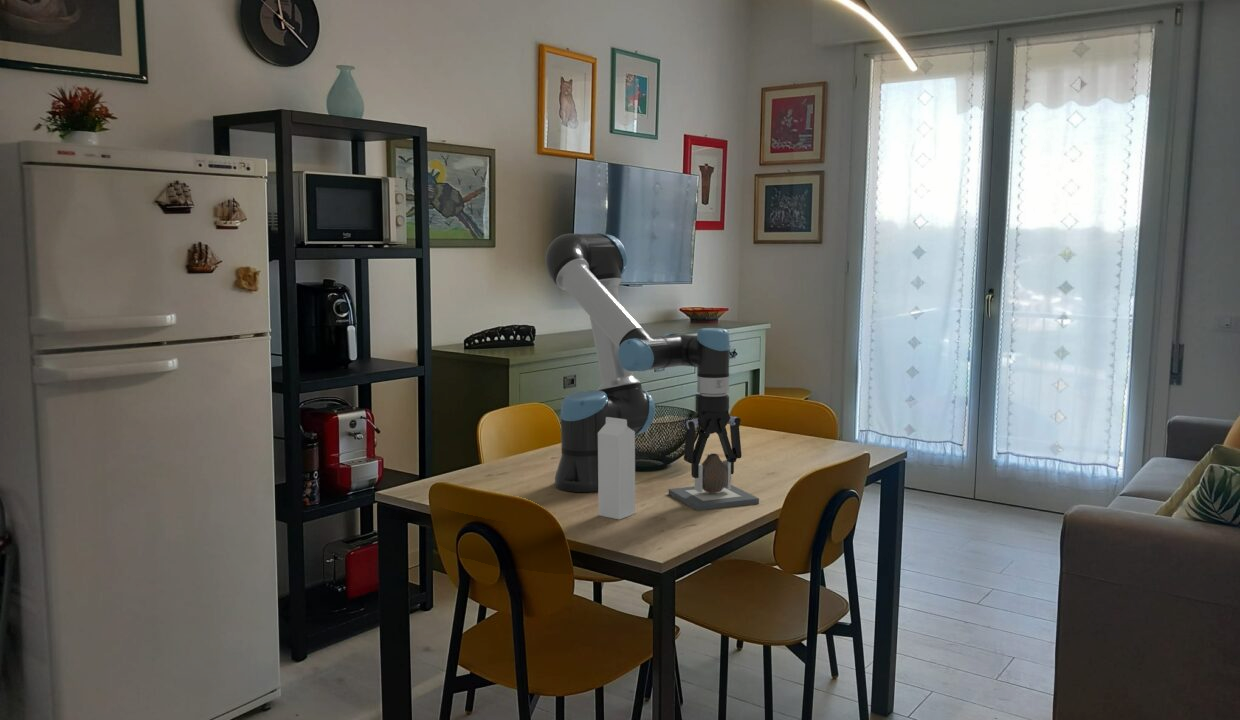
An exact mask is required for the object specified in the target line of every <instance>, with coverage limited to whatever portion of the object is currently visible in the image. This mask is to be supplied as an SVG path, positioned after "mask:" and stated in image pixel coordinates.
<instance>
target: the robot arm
mask: <svg viewBox="0 0 1240 720" xmlns="http://www.w3.org/2000/svg"><path fill="white" fill-rule="evenodd" d="M544 260H545V262H544V264H545V268H546V271H547V274H548V275H549V277H550V278H551V280H552V281H553V283H554V284H555V285H556V287H557V288H559V289H560V290H562V291H567V293H568V294H570V295H571V296H572V298H573V299H574V300H575V301H576V303H578V305H579V306H580V307H581V308H582V309H583V311H585V312H586V313H587V315H588V316H589V320H590V326H591V329H592V331H591V332H592V335H593V341H594V347H595V352H596V353H595V354H596V357H597V362H598V364H597V365H598V368H599V374H600V381H601V383H600V385H599V386H598V388H597V390H595V389H593V390H585V391H584V390H581V391H577V392H572V393H570V394H567V395H566V396H565V397H564V398H563V399H562V400H561V405H560V412H559V413H560V414H559V417H560V430H561V432H560V434H561V435H560V436H561V437H560V438H561V441H560V443H561V445H560V446H561V455H560V458H559V459H560V460H559V463H558V466H557V470H556V471H555V476H554V486H555V488H556V489H559V490H560V491H565V492H576V493H593V492H598V432H599V431H600V430H601V428H602V427H603V426H604V425H605V424H606V417H612V418H619V419H626V420H627V427H629V428H630V429H632V430H633V431H635V436H637V435H640V434H643V433H645V432H646V431H648V430H649V429H650V427H651V425H652V424H653V422H654V420H655V419H654V418H655V417H656V407H655V401H654V399H653V397H652V395H650V393H649V392H648V391H647V390H644V389H643V387H642V382H641V381H640V380H639V379H638V378H636V377H635V376H634V372H645V371H651V370H658V369H667V368H674V367H693V368H696V370H697V371H696V375H697V376H696V381H697V383H696V384H697V385H696V392H697V393H698V394H697V396H696V410H697V412H696V413H697V414H696V416H695V418H693V419H690V420H689V419H686V420H685V421H684V424H685V429H686V432H685V441H684V443H685V444H684V453H683V460H684V461H685V462H686V463H689V464H690V465H691V474H690V475H691V477H692V478H694V486H695V490H696V491H698V492H702V479H703V465H701V464H702V463H700V462H701V460H702V457H703V453H704V450H705V448H706V445H707V441H708V439H709V438H710V435H711V434H714V433H715V434H717V436H718V438H719V441H720V444H721V448H722V451H723V454H724V457H725V459H723V460H722V462H723V464H724V465H725V467H726V470H727V483H726V485H725V487H724V488H726V489H731V485H732V476H731V475H733V474H734V473H735V472H734V471H735V463H736V462H737V460H738V459H741V458H742V447H741V433H740V427H741V426H740V425H741V421H742V420H741V418H740V417H738V416H735V415H733V416H731V415H730V412H729V409H730V396H729V395H728V393H729V392H730V355H731V354H730V352H731V351H730V350H731V345H730V333H729V330H727V328H720V327H706V328H705V327H704V328H699V329H698V330H697V335H691V334H682V333H678V332H676V333H665V334H664V335H662V336H651V335H650V334H649V333H648V332H647V331H646V330H645V329H644V328H643V327H642V326H641V325H640V324H639V322H638V321H637V320H636V319H635V317H633V316H632V315H631V314H630V312H628V310H627V309H626V308H625V307H624V306H623V304H621V298H620V294H619V293H620V292H619V290H618V288H619V285H620V284H621V282H622V281H623V280H622V279H623V278H622V275H623V274H624V273H625V271H626V266H627V265H628V255H627V251H626V248H625V246H624V244H623V243H622V242H621V240H619V238H618V237H616V236H614V235H611V234H604V233H564V234H561V235H559V236H558V237H556V238H554V239H553V240H552V241H551V242H550V244H549V245H548V247H547V250H546V252H545V258H544ZM728 424H729V433H730V439H729V436H728V431H727V428H726V427H727V425H728ZM698 426H699V430H698V433H697V434H698V436H697V440H696V429H697V427H698ZM695 441H696V443H695Z"/></svg>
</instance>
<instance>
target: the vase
mask: <svg viewBox="0 0 1240 720" xmlns="http://www.w3.org/2000/svg"><path fill="white" fill-rule="evenodd" d="M700 464H701V465H703V479H702V489H703V490H704V491H706V492H711V493H715V492H720V491H722V490H723V489H724V487H725V485H726V483H727V470H726V467H725V465H724V464H723V460H721V459H720V456H719V454H718V453H708V454H707V456H706V458H705V459H704V461H703V462H702V463H700Z"/></svg>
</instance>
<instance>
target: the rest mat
mask: <svg viewBox="0 0 1240 720" xmlns="http://www.w3.org/2000/svg"><path fill="white" fill-rule="evenodd" d="M668 495H670V496H671V497H673V498H675V500H678V501H680V502H681V503H683V504H685V505H686V506H688V507H690V508H692V509H693V510H695V511H697V512H698V511H705V510H715V509H721V508H730V507H739V506H740V507H741V506H748V505H756V504H759V503H760V498H759V497H757V496H755V495H753V494H752V493H751V494H750V493H749V492H747V491H745V490H743V489H741V488H739V487H737V486H734V485H733V484H731V489H726V488H724V489H723V490H722V491H720V492H715V493H711V492H706V491H704V490H703V489H702V492H698V491H696V490H695V485H694V486H687V487H686V486H685V487H675V488H674V487H673V488H668Z"/></svg>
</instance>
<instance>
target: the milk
mask: <svg viewBox="0 0 1240 720" xmlns="http://www.w3.org/2000/svg"><path fill="white" fill-rule="evenodd" d="M597 493H598V494H597V495H598V497H597V498H598V501H597V502H598V516H601V517H605V518H609V519H615V520H618V521H620V520H622V519H625V518H628V517H631V516H633V515H635V514H636V435H635V431H633V430H632V429H630V428H629V427H627V420H626V419H619V418H612V417H606V424H605V425H604V426H603V427H602V428H601V430H600V431H599V432H598V491H597Z"/></svg>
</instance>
